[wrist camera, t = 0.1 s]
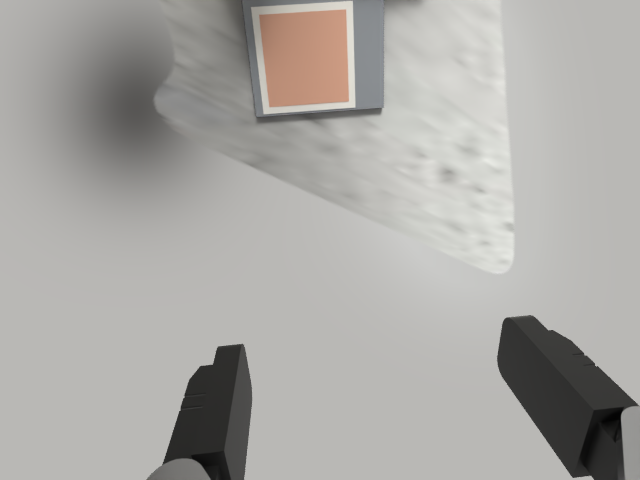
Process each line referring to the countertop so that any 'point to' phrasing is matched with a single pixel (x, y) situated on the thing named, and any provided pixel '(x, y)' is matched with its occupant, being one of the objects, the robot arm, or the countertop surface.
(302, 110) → the picture board
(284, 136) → the countertop surface
